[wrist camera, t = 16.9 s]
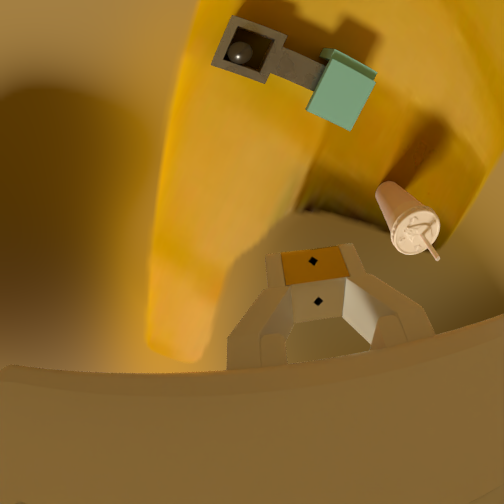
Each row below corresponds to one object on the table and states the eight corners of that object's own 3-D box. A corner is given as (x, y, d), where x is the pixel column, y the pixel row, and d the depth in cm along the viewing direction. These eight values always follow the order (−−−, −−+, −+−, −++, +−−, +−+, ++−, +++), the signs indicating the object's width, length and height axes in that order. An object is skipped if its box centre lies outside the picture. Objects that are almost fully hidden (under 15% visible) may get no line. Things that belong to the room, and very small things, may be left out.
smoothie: (394, 217, 42) (437, 284, 31) (359, 206, 40) (397, 275, 29) (414, 180, 38) (468, 240, 27) (378, 165, 37) (429, 226, 26)
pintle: (249, 40, 27) (250, 39, 22) (252, 59, 28) (254, 62, 24) (228, 44, 27) (225, 43, 23) (231, 62, 29) (229, 65, 24)
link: (214, 62, 29) (210, 64, 25) (233, 18, 25) (232, 15, 22) (334, 111, 32) (344, 119, 29) (354, 71, 29) (367, 75, 26)
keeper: (297, 100, 32) (306, 110, 27) (323, 47, 28) (337, 49, 23) (335, 118, 33) (350, 131, 29) (361, 67, 29) (380, 73, 25)
